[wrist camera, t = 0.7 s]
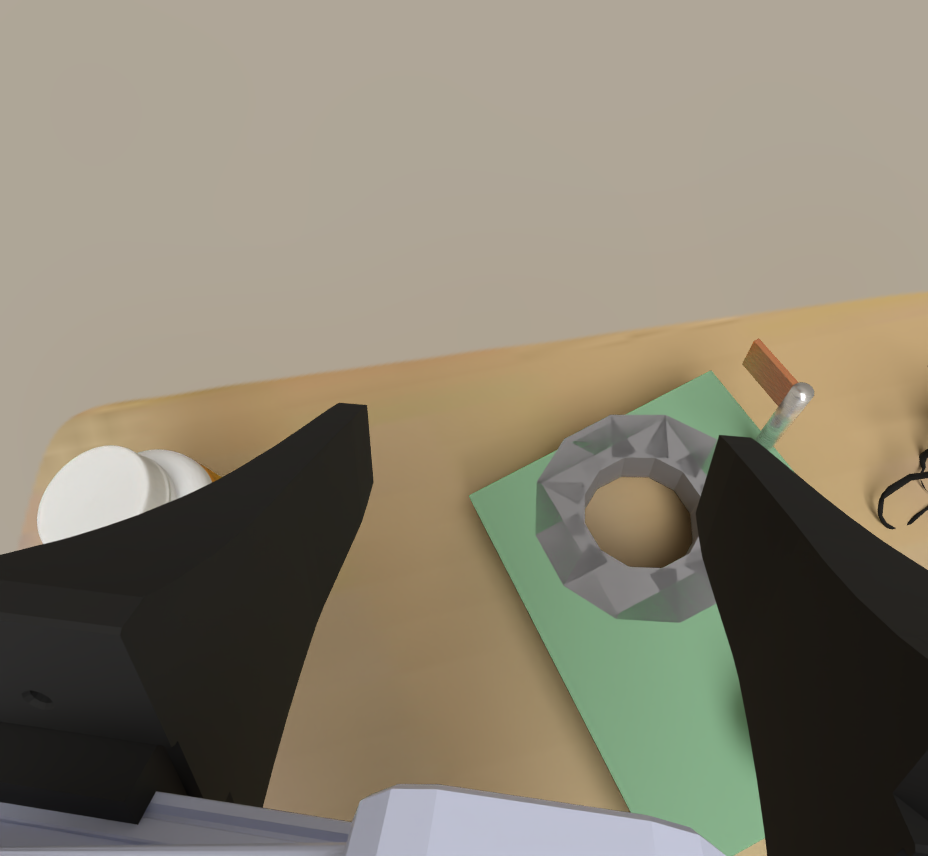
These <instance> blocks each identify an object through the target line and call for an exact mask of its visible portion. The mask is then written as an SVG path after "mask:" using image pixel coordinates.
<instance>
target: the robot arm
mask: <svg viewBox="0 0 928 856" xmlns="http://www.w3.org/2000/svg"><path fill="white" fill-rule="evenodd" d="M372 485H373V471H372V459H371V447H370V436H369V424H368V412H367V405H359V404H347V403H338V404H336V405H335V406H333V407H332V408H330V409H328V410H327V411H325V412H324V413H323V414H321V415H320V416H318V417H317V418H315V419H314V420H312V421H311V422H310V423H308V424H307V425H305V426H304V427H302V428H301V429H299V430H298V431H296V432H295V433H294V434H292V435H291V436H289V437H288V438H286V439H285V440H283V441H282V442H280V443H279V444H277V445H276V446H274V447H273V448H271V449H269V450H268V451H266V452H264V453H263V454H261V455H260V456H258V457H256V458H255V459H253V460H251V461H250V462H248V463H246V464H245V465H243V466H241V467H240V468H238V469H236V470H235V471H233V472H231V473H229V474H227V475H226V476H224V477H222V478H220V479H218V480H216V481H214V482H212V483H210V484H208V485H206V486H204V487H202V488H200V489H198V490H196V491H194V492H192V493H189V494H187V495H185V496H183V497H180V498H178V499H176V500H173V501H171V502H168V503H166V504H163V505H161V506H158V507H156V508H154V509H151V510H149V511H146V512H144V513H141V514H139V515H136V516H133V517H131V518H128V519H125V520H122V521H119V522H116V523H113V524H111V525H108V526H105V527H101V528H98V529H95V530H92V531H89V532H85V533H82V534H79V535H76V536H72V537H69V538H65V539H62V540H58V541H54V542H50V543H46V544H42V545H38V546H34V547H30V548H26V549H22V550H19V551H15V552H11V553H6V554H2V555H0V856H726V855H725V854H723V853H722V852H721V851H720V850H719V849H717V848H716V847H715V846H714V845H712V844H711V843H710V842H709V841H707V840H706V839H705V838H703V837H702V836H701V835H700V834H698V833H697V832H696V831H694V830H693V829H692V828H690V827H687V826H684V825H680V824H677V823H673V822H670V821H666V820H663V819H659V818H656V817H652V816H649V815H643V814H636V813H629V812H622V811H616V810H609V809H602V808H596V807H589V806H582V805H575V804H569V803H562V802H555V801H548V800H542V799H535V798H528V797H521V796H515V795H508V794H501V793H494V792H488V791H481V790H474V789H467V788H461V787H454V786H447V785H440V784H397V785H394V786H391V787H389V788H386V789H384V790H381V791H379V792H376V793H373V794H371V795H369V796H367V797H366V798H364V799H362V800H361V801H360V803H359V805H358V808H357V810H356V813H355V815H354V818H353V820H352V822H349V821H343V820H336V819H330V818H324V817H317V816H311V815H304V814H298V813H292V812H285V811H279V810H273V809H266V808H263V804H264V800H265V796H266V792H267V789H268V785H269V781H270V777H271V773H272V769H273V765H274V762H275V758H276V755H277V751H278V748H279V744H280V741H281V737H282V734H283V730H284V727H285V723H286V719H287V716H288V712H289V709H290V706H291V703H292V699H293V696H294V693H295V690H296V686H297V683H298V680H299V676H300V673H301V670H302V667H303V664H304V661H305V658H306V655H307V651H308V648H309V645H310V642H311V639H312V636H313V633H314V630H315V627H316V624H317V622H318V619H319V617H320V614H321V612H322V609H323V607H324V604H325V602H326V600H327V598H328V596H329V593H330V591H331V589H332V587H333V585H334V582H335V580H336V578H337V576H338V574H339V571H340V569H341V567H342V565H343V563H344V560H345V558H346V556H347V554H348V552H349V549H350V547H351V545H352V543H353V540H354V538H355V536H356V534H357V531H358V529H359V527H360V525H361V522H362V519H363V516H364V513H365V510H366V506H367V503H368V500H369V496H370V492H371V489H372ZM695 514H696V521H697V528H698V535H699V542H700V547H701V553H702V558H703V562H704V565H705V568H706V572H707V575H708V578H709V582H710V585H711V588H712V591H713V595H714V598H715V601H716V604H717V607H718V610H719V614H720V617H721V620H722V623H723V626H724V630H725V633H726V636H727V639H728V642H729V645H730V649H731V652H732V655H733V659H734V663H735V667H736V670H737V674H738V678H739V683H740V689H741V694H742V699H743V704H744V709H745V714H746V719H747V725H748V730H749V736H750V742H751V748H752V754H753V760H754V766H755V772H756V778H757V784H758V791H759V798H760V805H761V812H762V819H763V826H764V833H765V840H766V849H767V856H928V570H927V569H925V568H924V567H922V566H920V565H919V564H917V563H916V562H914V561H913V560H911V559H909V558H908V557H906V556H905V555H903V554H902V553H900V552H898V551H897V550H895V549H894V548H892V547H891V546H889V545H888V544H886V543H885V542H883V541H882V540H881V539H879V538H878V537H876V536H875V535H873V534H872V533H871V532H869V531H868V530H867V529H865V528H864V527H863V526H861V525H860V524H858V523H857V522H856V521H854V520H853V519H852V518H850V517H849V516H848V515H846V514H845V513H844V512H842V511H841V510H840V509H839V508H837V507H836V506H835V505H833V504H832V503H831V502H830V501H828V500H827V499H826V498H825V497H823V496H822V495H821V494H820V493H818V492H817V491H816V490H815V489H814V488H812V487H811V486H810V485H809V484H808V483H806V482H805V481H804V480H803V479H802V478H800V477H799V476H798V475H797V474H796V473H794V472H793V471H792V470H791V469H790V468H789V467H787V466H786V465H785V464H784V463H783V462H781V461H780V460H779V459H778V458H777V457H775V456H774V455H773V454H772V453H771V452H769V451H768V450H767V449H766V448H765V447H763V446H762V445H761V444H759V443H758V442H757V441H755V440H754V439H753V438H751V437H739V436H727V435H719V437H718V441H717V444H716V447H715V450H714V454H713V457H712V460H711V464H710V467H709V470H708V474H707V477H706V480H705V483H704V487H703V490H702V493H701V497H700V500H699V503H698V507H697V510H696V513H695Z"/></svg>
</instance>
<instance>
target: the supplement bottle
mask: <svg viewBox="0 0 928 856" xmlns="http://www.w3.org/2000/svg"><path fill="white" fill-rule="evenodd" d="M220 478H222V477H220V476H219V475H217V474H215V473H214V472H212V471H211V470H209V469H208V468H206V467H204V466H203V465H201V464H199V463H198V462H196V461H195V460H193V459H191V458H189V457H187V456H185V455H183V454H181V453H178V452H174V451H170V450H160V449H157V450H147V451H142V452H138V453H136V452H134V451H132V450H130V449H128V448H125V447H121V446H113V445H110V446H101V447H97V448H93V449H91V450H88V451H86V452H84V453H82V454H80V455H78V456H77V457H75V458H73V459H72V460H71V461H70V462H68V463H67V464H66V465H65V466H64V467H63V468H62V469H61V470H60V471H59V472H58V473H57V474H56V475H55V477H54V478H53V479H52V481H51V482H50V483H49V485H48V486H47V488H46V490H45V492H44V494H43V496H42V499H41V502H40V505H39V509H38V516H37V527H38V533H39V536H40V538H41V540H42V543H43V544H46V543H50V542H54V541H58V540H62V539H65V538H69V537H72V536H76V535H79V534H82V533H85V532H89V531H92V530H95V529H98V528H101V527H105V526H108V525H111V524H113V523H116V522H119V521H122V520H125V519H128V518H131V517H133V516H136V515H139V514H141V513H144V512H146V511H149V510H151V509H154V508H156V507H158V506H161V505H163V504H166V503H168V502H171V501H173V500H176V499H178V498H180V497H183V496H185V495H187V494H189V493H192V492H194V491H196V490H198V489H200V488H202V487H204V486H206V485H208V484H210V483H212V482H214V481H216V480H218V479H220Z"/></svg>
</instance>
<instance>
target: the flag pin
mask: <svg viewBox="0 0 928 856" xmlns="http://www.w3.org/2000/svg"><path fill="white" fill-rule="evenodd" d="M743 366H744V367H745V368H746V369H747V370H748V371H749V373H750V374H751V375H752V376H753V377H754V378H755V380H756V381H757V382H758V383H759V384H760V385H761V387H762V388H763V389H764V390H765V391H766V392H767V394H768V395H769V396H770V397H771V398H772V399H773V401H774V402H775V403H776V404H777V405H778V408H777V409H776V411H775V412H774V413H773V415H772V416H771V418H770V419H769V421H768V422H767V423H766V425H765V426H764V428H763V429H762V430H761V432H760V433H759V435H758V436H757V438H756V439H755V441H757V442H758V443H759V444H761V445H762V446H763V447H765V448H766V449H767V450H768V451H769V452H770V450H771V449H772V448H773V447H774V445H775V444H776V443H777V442H778V440H779V439H780V438H781V437H782V435H783V434H784V433H785V431H786V430H787V429H788V428H789V426H790V425H791V424H792V423H793V421H794V420H795V419H796V418H797V416H798V415H799V414H800V413H801V411H802V410H803V409H804V408H805V406H806V405H807V404H808V403H809V401H810V400H811V399H812V398H813V396H814V390H813V388H812V387H811V386H810V385H809V384H807V383H803V382H800V383H798V382H797V380H796V379H795V378H794V377H793V376H792V375H791V374H790V373H789V371H788V370H787V369H786V368H785V367H784V366H783V365H782V364H781V363H780V361H779V360H778V359H777V358H776V357H775V356H774V355H773V354H772V352H771V351H770V350H769V349H768V348H767V347H766V346H765V345H764V344H763V342H762V341H761V340H760V339H757V340H755V341H754V342H753V344H752V346H751V348H750V350H749V352H748V354H747V356H746V358H745V360H744V362H743Z"/></svg>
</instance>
